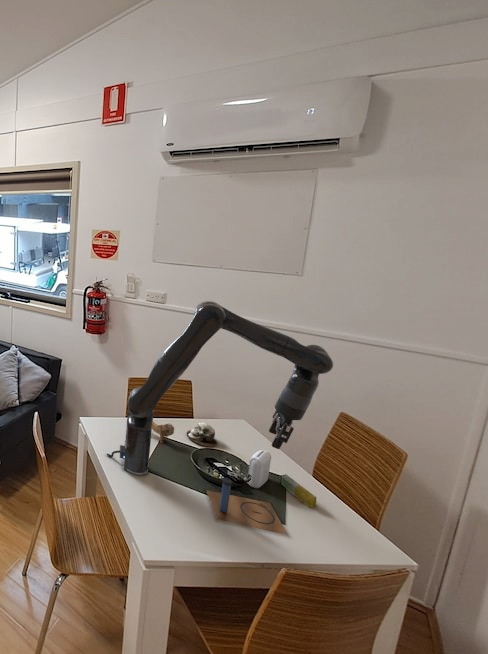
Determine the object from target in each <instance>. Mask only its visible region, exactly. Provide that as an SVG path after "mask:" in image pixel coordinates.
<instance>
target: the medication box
mask: <svg viewBox="0 0 488 654" xmlns="http://www.w3.org/2000/svg"><path fill="white" fill-rule="evenodd" d="M280 485H281V486H283V487H284V488H285V489H286V490H287V491H289V492H290V493H291V494H292V495H293V496H294V497H296V498H297V499H298V500H299V501H300V502H302V503H303V504H304V505H306V506H307V507H308V508H309V509H314V508H316V507H317V498H318V497H317V496H316V495H314V494H313V493H312V492H310V491H309V490H308V489H306V488H305V487H304V486H303V485H301V484H300V483H298V482H297V481H296V480H295V479H293V478H291V476H289V475H288V474H281V475H280Z"/></svg>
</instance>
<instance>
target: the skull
mask: <svg viewBox="0 0 488 654" xmlns="http://www.w3.org/2000/svg"><path fill="white" fill-rule="evenodd" d="M185 433H186V434H185V435H186V436H187V438H188V439H189V440H190V441H192V442H194V443H195V444H197V445H199V446H203V447H215V446H217V444H218V443H217V440H216V439H215V436H216V430H215V429H214V427H212V426H211V425H210V424H208V423H207V422H198V423H197V424H196V426H194V428H192V429H190V430H187V431H186V432H185Z"/></svg>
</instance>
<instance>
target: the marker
mask: <svg viewBox="0 0 488 654" xmlns="http://www.w3.org/2000/svg"><path fill="white" fill-rule="evenodd" d="M232 483H233V481H232V479H230V478H228V477H223V478H222V484H221V492H220V493H221V499H220V506H219V509H220V512H222V513H224V514H226V513H227V511H228V504H229V497H230V495H231V488H232Z"/></svg>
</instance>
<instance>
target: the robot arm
mask: <svg viewBox="0 0 488 654" xmlns="http://www.w3.org/2000/svg"><path fill="white" fill-rule="evenodd" d="M193 313H194V316H193V318H192V319H191V321H190V323H189V324H188V326H187V327H186V329H185V330H184V332H183V333H182V334H180V336H178V337H177V338H176V339H175V340H174V341H173V342H171V343H170V344H169V345H168V346H167V347H166V348H165V350H164V351H163V352H162V353H161V354H160V356H159V357H158V359H157V360H156V362H155V364H154V365H153V367H152V368H151V371H150V372H149V375H148V377H147V379H146V380H145V382H144V383H143V384H142V386H137V387H134V388H133V389H132V390H131V391H130V393H129V396H128V399H127V408H128V411H127V418H126V426H125V427H126V428H125V439H124V442H123V443H124V445H122V444H119V450H114V451H112V452H111V454H110V453H106V456H107V457H109V458H112V457H114V454H119V459H122V466H123V471H126V472H128V473H130V474H132V475H135V476H145V475H147V474H148V473H149V465H150V461H151V460H150V452H151V443H152V442H151V441H152V432H153V429H152V424H153V422H154V413H155V412H154V411H155V409H156V407H157V405H158V404H159V402H160V401H161V399H162V398H163V396H164V395H165V393H167V392H168V391H169V389H171V387H172V386H173V385H175V383H176V382H177V381H178V379H180V378H181V376H182V375H183V374H184V373H185V371H187V369H188V368H189V366H190V365H191V364H192V362H193V361H195V358H196V357H197V355H198V354H199V352H200V351H201V350H202V348H203V347H204V346H205V344H207V342H208V341H210V339H211V338H212V337H214V335H215V334H216V333H218V332H219V331H220V330H225V331H227V332H230V333H232V334H234V335H236V336H238V337H240V338H242V339H244V340H246V341H247V342H249V343H251V344H253V345H254V346H256V347H258V348H260V349H262V350H265V351H267V352H269V353H271V354H274V355H277V356H279V357H281V358H283V359H285V360H288V361H289V362H290V363H292V364H293V365H294V367H293V371H292V374H291V375H290V377H289V379H288V381H287V383H286V384H285V387H283V389H282V390H281V392H280V395H279V397H278V399H277V401H276V402H275V404H274V409H275V411H274V413H273V415H272V420H271V421H272V423H271V424H270V427H269V429H268V432H269V433H271V434H273V435H275V437H274V439H273V440H272V442H271V447H272V448H275V449H277V450H280V449H281V447H282V445H283V443H284V444H287V443H288V442H289V439H290V437H291V436H292V434H293V431H294V427H293V424H294V422H293V421H301V420H302V419H303V417H304V416H305V414H306V412H307V410H308V408H309V406H310V405H311V402H312V399H313V397H314V395H315V394H316V391H317V390H318V387H319V383H320V381H319V376H320V375H323V374H325V375H326V374H328V373H329V372H331V371H332V370H333V368H334V362H333V358H331V356H330V354H329V353H328V351H327V350H326V349H325V348H323V346H321V345H318V344H308V345H303V344H301V343H300V342H299V341H298V340H296V339H295V338H294V337H292V336H289V335H287V334H284V333H282V332H280V331H277V330H275V329H272V328H269V327H267V326H264V325H261V324H259V323H256V322H254V321H252V320H249V319H248V318H244V317H243V316H240V315H238V314H236V313H234V312H233V311H231V310H229V309H227V308H225V307H223V305H220V304H219V303H217V302H215V301H212V300H206V301H202V302H200V303H198V304H197V305H196V307H195V309H194V312H193Z"/></svg>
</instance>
